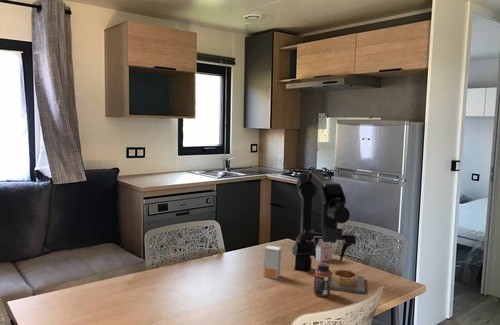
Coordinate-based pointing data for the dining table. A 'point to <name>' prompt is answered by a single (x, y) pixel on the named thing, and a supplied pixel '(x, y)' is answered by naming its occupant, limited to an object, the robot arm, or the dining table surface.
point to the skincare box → (272, 261)
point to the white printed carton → (323, 251)
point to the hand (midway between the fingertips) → (327, 259)
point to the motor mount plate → (347, 281)
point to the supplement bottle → (322, 280)
